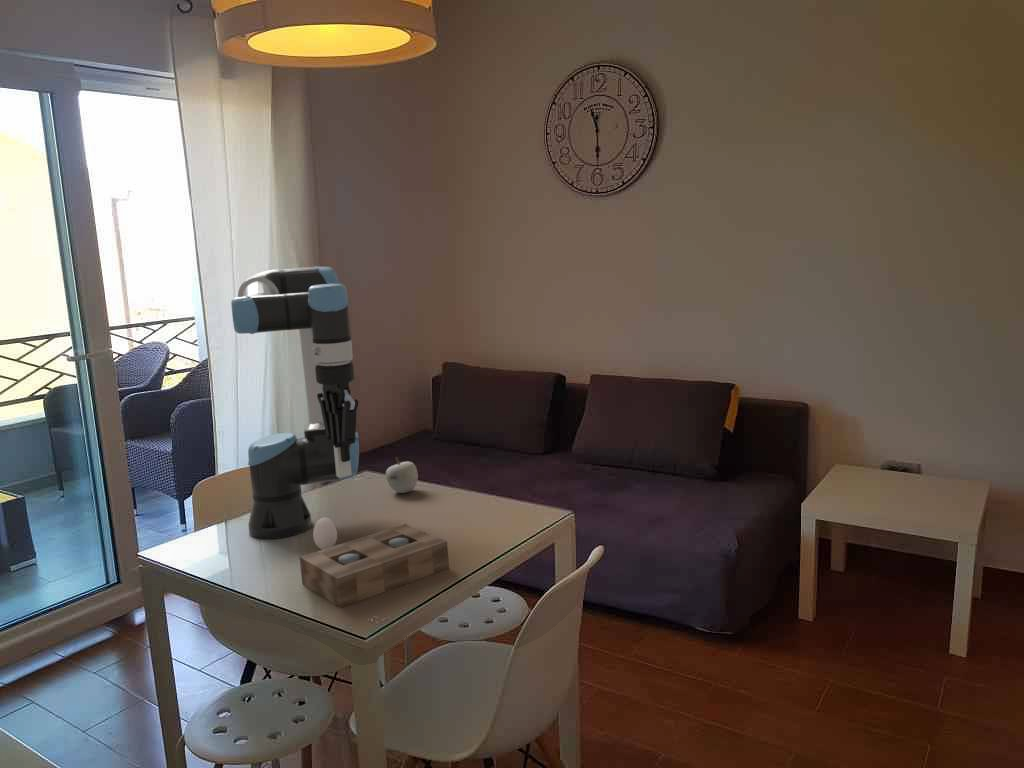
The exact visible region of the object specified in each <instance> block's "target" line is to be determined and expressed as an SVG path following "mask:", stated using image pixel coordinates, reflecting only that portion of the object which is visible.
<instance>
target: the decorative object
mask: <svg viewBox="0 0 1024 768" xmlns="http://www.w3.org/2000/svg"><path fill="white" fill-rule="evenodd" d="M395 461H396V463H395V464H393V465H390V466H389V467H388V468H387V469H386V471H385V476H386V481H387V483H388V487H390V488H391V489H392V490H393V491H394V492H396V493H398V494H405V493H406V494H407V493H409V492H410V491H413V490H414V489H415V487H416V486H417V485H418V484H417V483H418V480H419V474H418V469H417V466H416V465H415V464H414V462H412V461H401V462H400V460H399V458H398V457H395Z"/></svg>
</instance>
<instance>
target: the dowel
mask: <svg viewBox="0 0 1024 768" xmlns="http://www.w3.org/2000/svg"><path fill="white" fill-rule="evenodd" d="M358 560H360V558H359V555H358V554H345V555H342V556H340V557H339V564H341V565H346V564H349V563H352V562H355V561H358Z"/></svg>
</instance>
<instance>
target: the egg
mask: <svg viewBox="0 0 1024 768" xmlns="http://www.w3.org/2000/svg"><path fill="white" fill-rule="evenodd" d="M312 537H313V541H314V543H315V545H316V547H317V548H319V550H323V549H327V548H330V547H333V546H335V545H336V542H337V541H338V531H337V528H336V525H335V523H334V522H333V521H332V520H331V519H330V518H329V517H321V518H319V519H318V520H317V521H316V523H315V524H314V527H313V532H312Z"/></svg>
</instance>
